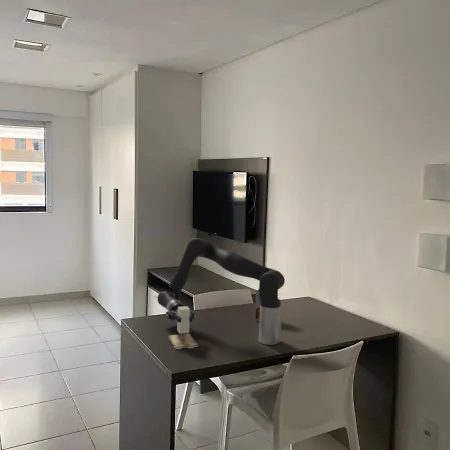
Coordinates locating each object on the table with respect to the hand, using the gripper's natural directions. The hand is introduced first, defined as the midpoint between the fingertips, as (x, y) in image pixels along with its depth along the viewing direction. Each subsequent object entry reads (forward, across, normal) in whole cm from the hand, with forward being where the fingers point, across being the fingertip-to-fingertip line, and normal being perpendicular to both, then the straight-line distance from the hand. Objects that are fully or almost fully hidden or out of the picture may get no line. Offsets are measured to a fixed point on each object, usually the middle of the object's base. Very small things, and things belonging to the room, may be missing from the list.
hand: (185, 320), depth 209 cm
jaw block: (-4, 0, +6) cm, 7 cm away
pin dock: (-3, 0, +12) cm, 12 cm away
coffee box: (-25, +51, +12) cm, 58 cm away
